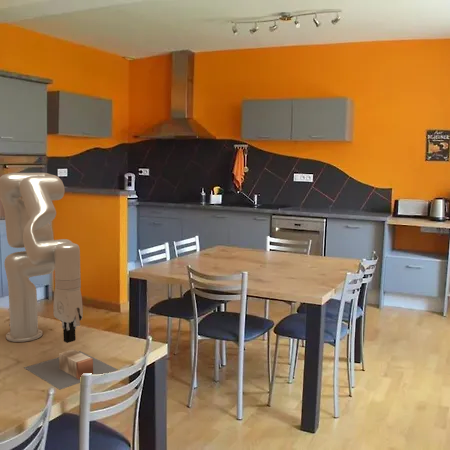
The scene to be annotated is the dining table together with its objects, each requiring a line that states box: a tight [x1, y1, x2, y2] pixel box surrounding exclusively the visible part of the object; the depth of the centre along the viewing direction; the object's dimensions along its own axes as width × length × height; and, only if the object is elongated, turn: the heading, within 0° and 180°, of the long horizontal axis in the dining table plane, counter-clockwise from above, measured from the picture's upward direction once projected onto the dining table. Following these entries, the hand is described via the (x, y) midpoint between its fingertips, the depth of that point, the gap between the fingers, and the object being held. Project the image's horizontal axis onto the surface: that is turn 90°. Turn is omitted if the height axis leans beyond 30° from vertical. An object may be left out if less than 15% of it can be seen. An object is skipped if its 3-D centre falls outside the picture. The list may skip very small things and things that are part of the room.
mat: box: [23, 350, 119, 391], centre depth 167 cm, size 22×20×1 cm
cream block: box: [58, 348, 93, 379], centre depth 164 cm, size 5×5×11 cm
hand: (69, 341), depth 166 cm, fingers closed
